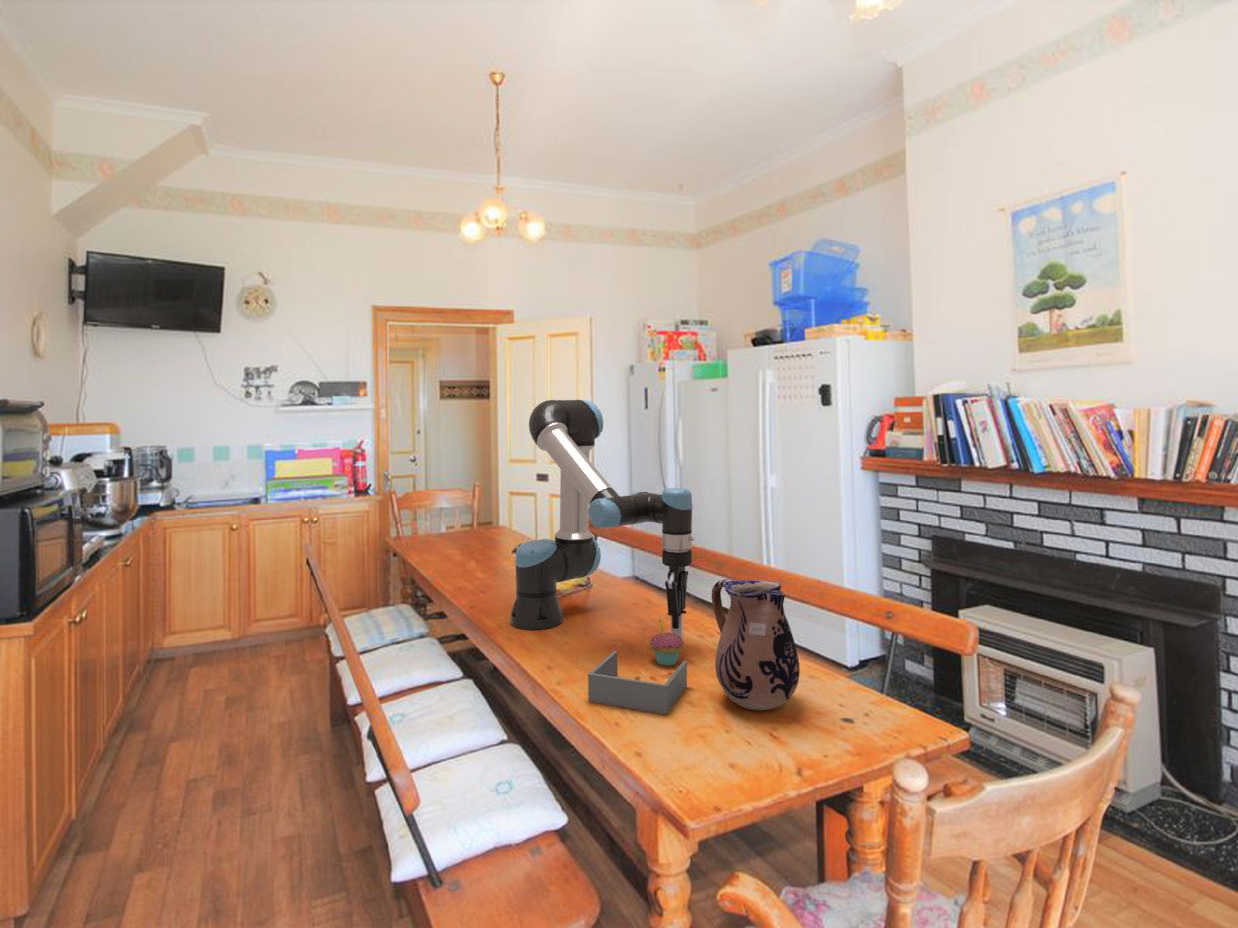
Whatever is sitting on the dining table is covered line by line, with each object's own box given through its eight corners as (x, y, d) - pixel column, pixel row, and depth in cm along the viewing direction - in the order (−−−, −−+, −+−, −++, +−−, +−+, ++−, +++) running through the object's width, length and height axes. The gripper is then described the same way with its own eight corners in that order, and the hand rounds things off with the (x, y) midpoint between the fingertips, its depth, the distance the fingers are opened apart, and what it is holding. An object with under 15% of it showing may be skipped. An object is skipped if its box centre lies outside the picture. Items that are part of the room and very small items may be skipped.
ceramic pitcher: (773, 729, 131) (775, 603, 129) (685, 698, 145) (685, 584, 143) (813, 700, 144) (815, 585, 142) (729, 674, 158) (730, 569, 156)
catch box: (588, 701, 144) (588, 674, 143) (614, 675, 157) (614, 650, 157) (667, 714, 137) (667, 686, 137) (686, 687, 151) (687, 661, 150)
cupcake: (660, 671, 160) (660, 621, 159) (643, 659, 168) (642, 612, 167) (690, 664, 164) (691, 616, 163) (672, 653, 172) (672, 607, 171)
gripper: (684, 555, 164) (684, 649, 166) (697, 545, 176) (697, 633, 178) (654, 553, 167) (655, 645, 169) (670, 543, 179) (670, 629, 181)
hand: (676, 639), depth 173 cm, fingers closed
